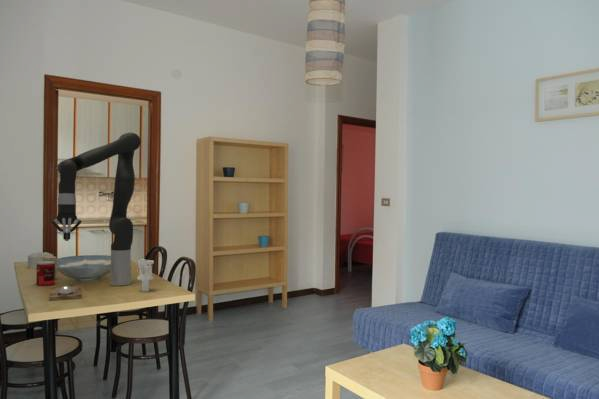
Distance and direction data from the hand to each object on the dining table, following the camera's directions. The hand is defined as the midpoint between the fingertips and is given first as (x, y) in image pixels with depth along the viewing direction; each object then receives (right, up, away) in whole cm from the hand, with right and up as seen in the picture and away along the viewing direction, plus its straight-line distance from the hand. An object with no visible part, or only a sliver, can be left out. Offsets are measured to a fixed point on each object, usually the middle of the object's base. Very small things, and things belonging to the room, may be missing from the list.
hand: (66, 240), depth 213 cm
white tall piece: (+36, -24, +1) cm, 43 cm away
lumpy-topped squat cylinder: (-46, -22, +61) cm, 79 cm away
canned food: (-16, -23, +11) cm, 29 cm away
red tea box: (-20, -22, +23) cm, 38 cm away
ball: (+7, -21, -15) cm, 27 cm away
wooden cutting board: (+5, -23, -11) cm, 26 cm away
